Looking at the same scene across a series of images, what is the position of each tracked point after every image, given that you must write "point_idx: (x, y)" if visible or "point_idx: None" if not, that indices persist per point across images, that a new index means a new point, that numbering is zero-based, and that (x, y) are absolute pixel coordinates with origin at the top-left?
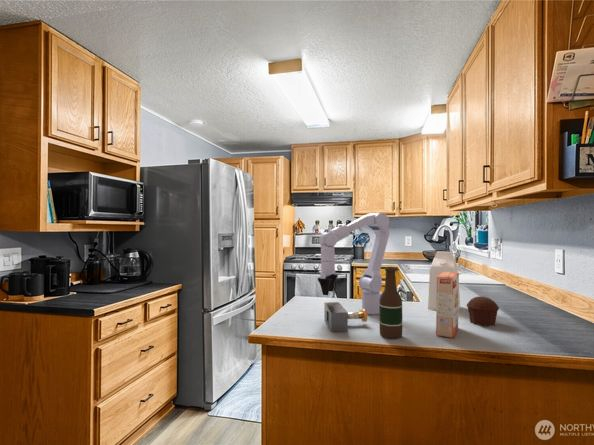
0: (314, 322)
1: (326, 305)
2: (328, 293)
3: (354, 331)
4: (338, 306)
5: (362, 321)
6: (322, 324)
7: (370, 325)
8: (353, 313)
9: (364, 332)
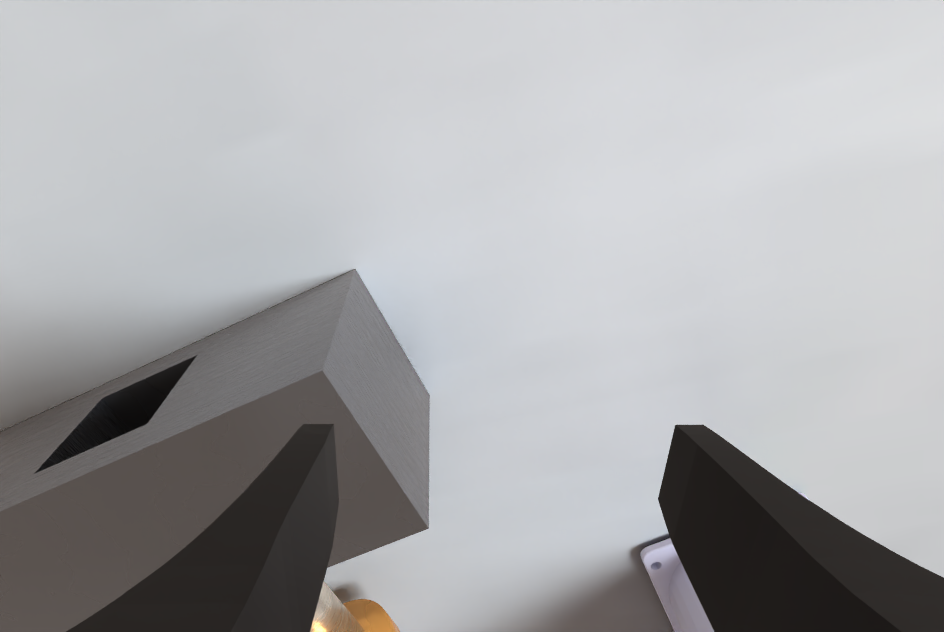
0: (197, 193)
1: (159, 443)
2: (331, 530)
3: None
4: None
5: (345, 603)
6: (174, 297)
7: None
8: None
9: None
